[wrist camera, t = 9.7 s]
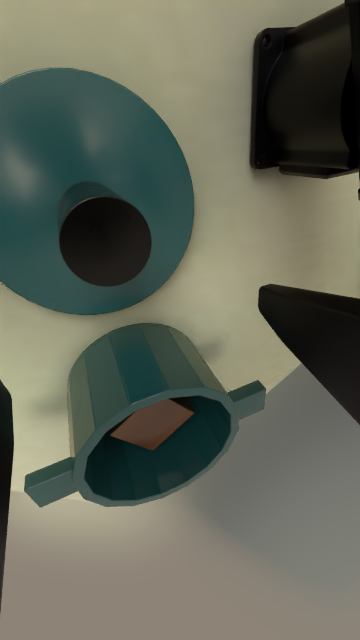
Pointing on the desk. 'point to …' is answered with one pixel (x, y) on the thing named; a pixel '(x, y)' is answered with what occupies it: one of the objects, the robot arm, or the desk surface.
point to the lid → (88, 193)
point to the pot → (132, 395)
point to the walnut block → (153, 423)
